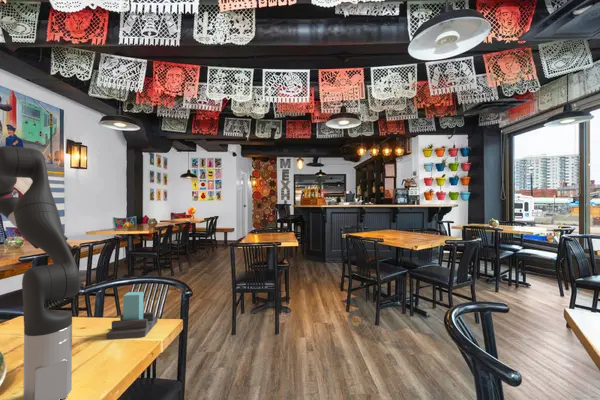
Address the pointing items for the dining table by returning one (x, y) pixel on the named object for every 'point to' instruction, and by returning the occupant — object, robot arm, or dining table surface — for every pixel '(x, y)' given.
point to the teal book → (133, 306)
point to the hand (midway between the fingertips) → (62, 251)
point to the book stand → (132, 327)
